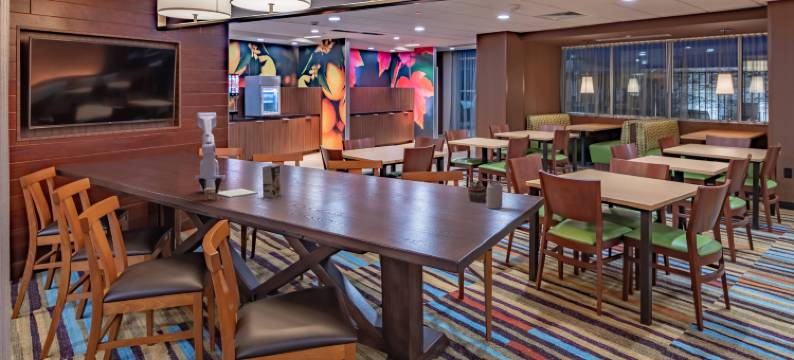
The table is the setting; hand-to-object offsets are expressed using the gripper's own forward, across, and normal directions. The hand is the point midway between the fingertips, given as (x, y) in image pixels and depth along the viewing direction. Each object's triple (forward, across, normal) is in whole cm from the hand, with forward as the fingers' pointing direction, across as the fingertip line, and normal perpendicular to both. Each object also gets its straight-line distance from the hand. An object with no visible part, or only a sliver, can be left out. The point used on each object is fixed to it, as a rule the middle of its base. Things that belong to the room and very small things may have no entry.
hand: (210, 193), depth 289 cm
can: (+3, +142, -25) cm, 144 cm away
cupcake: (+3, +137, -7) cm, 137 cm away
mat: (+3, +8, +16) cm, 19 cm away
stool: (+3, 0, 0) cm, 3 cm away
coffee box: (+3, +30, +8) cm, 31 cm away
